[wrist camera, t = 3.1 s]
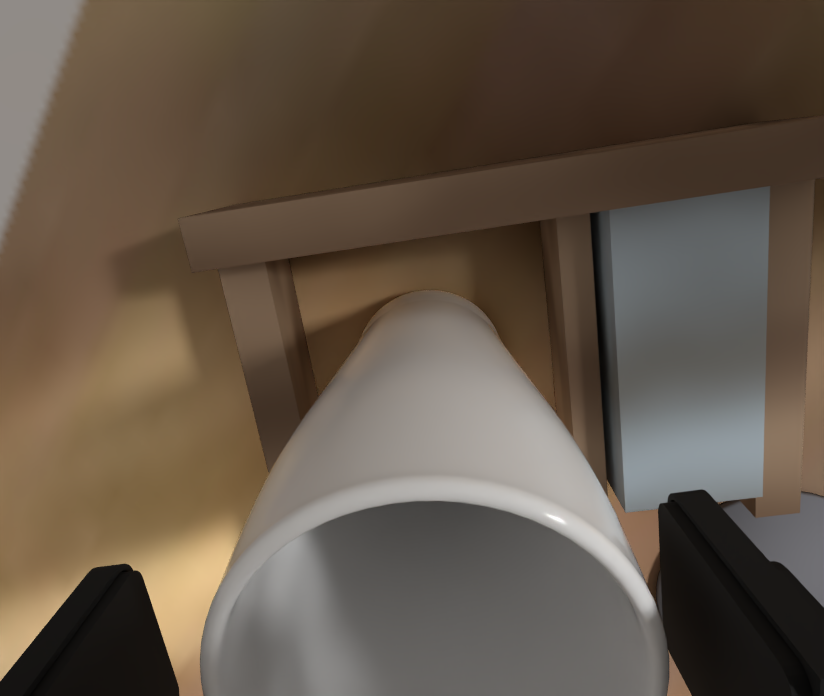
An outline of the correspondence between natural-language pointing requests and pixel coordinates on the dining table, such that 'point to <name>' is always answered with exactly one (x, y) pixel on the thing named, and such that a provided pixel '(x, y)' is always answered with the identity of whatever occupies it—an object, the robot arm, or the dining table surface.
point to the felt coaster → (785, 541)
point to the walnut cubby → (591, 297)
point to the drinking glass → (432, 537)
